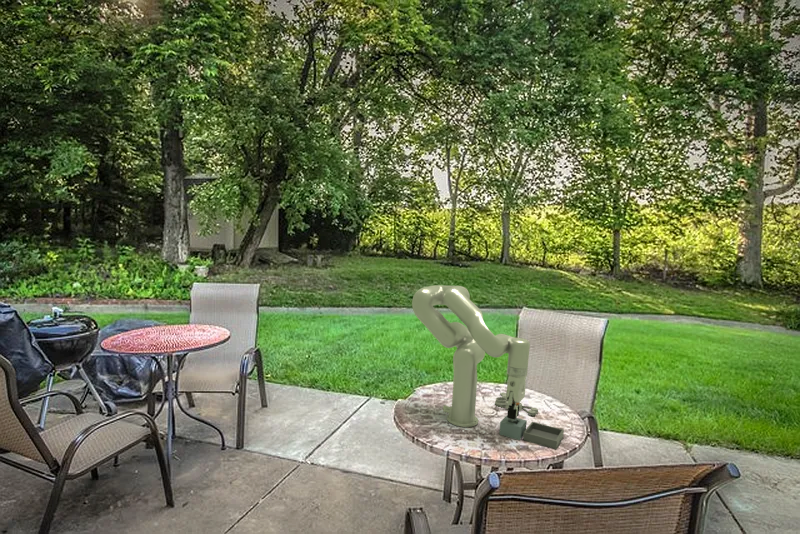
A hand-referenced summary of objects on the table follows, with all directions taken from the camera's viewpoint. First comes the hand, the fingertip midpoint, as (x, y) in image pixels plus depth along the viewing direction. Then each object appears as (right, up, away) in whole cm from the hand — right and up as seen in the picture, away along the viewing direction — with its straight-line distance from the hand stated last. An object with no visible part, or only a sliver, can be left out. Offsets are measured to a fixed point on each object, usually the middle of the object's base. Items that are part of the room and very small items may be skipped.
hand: (512, 416), depth 179 cm
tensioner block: (0, -7, 0) cm, 7 cm away
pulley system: (+6, -5, +31) cm, 32 cm away
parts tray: (+11, -8, -3) cm, 14 cm away
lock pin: (0, -6, 0) cm, 6 cm away
